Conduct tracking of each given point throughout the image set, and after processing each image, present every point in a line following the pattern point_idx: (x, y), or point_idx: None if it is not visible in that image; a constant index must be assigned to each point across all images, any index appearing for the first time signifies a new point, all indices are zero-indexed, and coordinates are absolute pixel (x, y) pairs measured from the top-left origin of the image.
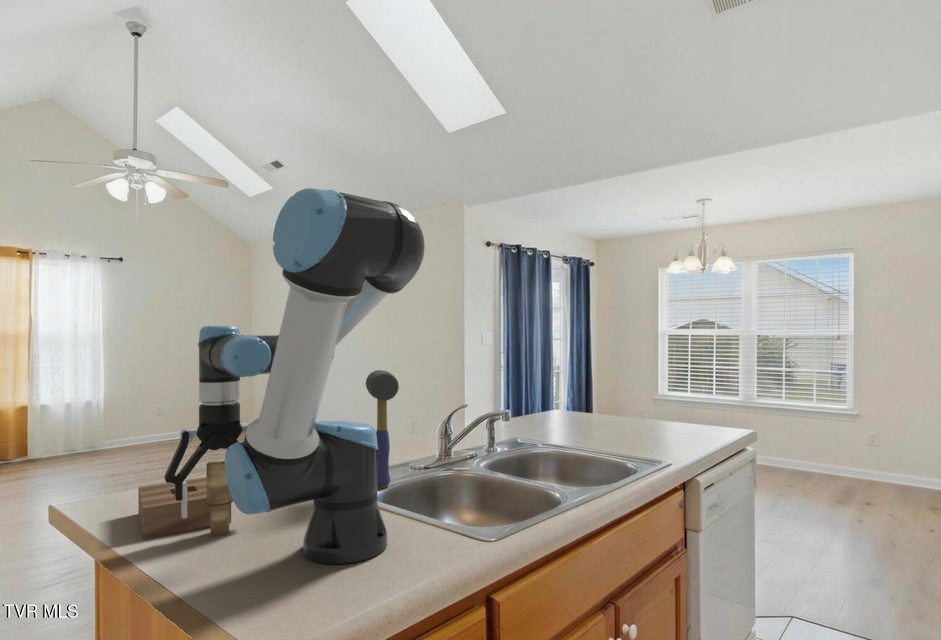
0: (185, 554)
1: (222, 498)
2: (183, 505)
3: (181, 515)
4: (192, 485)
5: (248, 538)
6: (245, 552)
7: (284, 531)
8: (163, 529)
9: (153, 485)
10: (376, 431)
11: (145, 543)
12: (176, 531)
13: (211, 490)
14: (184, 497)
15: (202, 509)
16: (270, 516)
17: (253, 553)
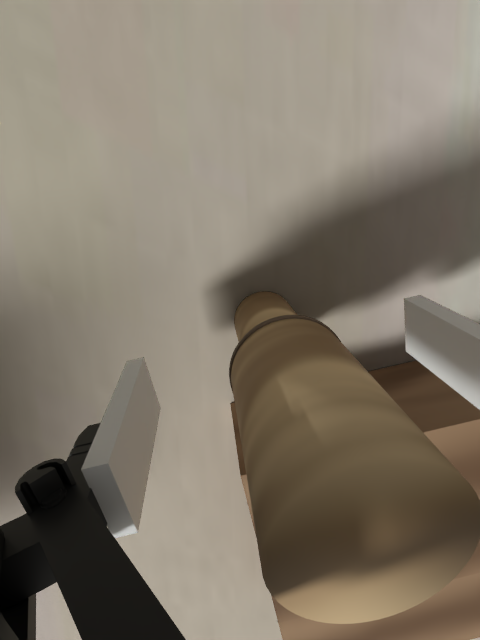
0: (371, 144)
1: (283, 330)
2: (455, 312)
3: (401, 398)
4: None
5: (163, 219)
6: (163, 53)
7: (28, 241)
8: None
9: None
10: None
11: (471, 308)
12: (389, 368)
13: (354, 358)
14: (478, 330)
15: None
16: (102, 418)
17: (129, 22)
